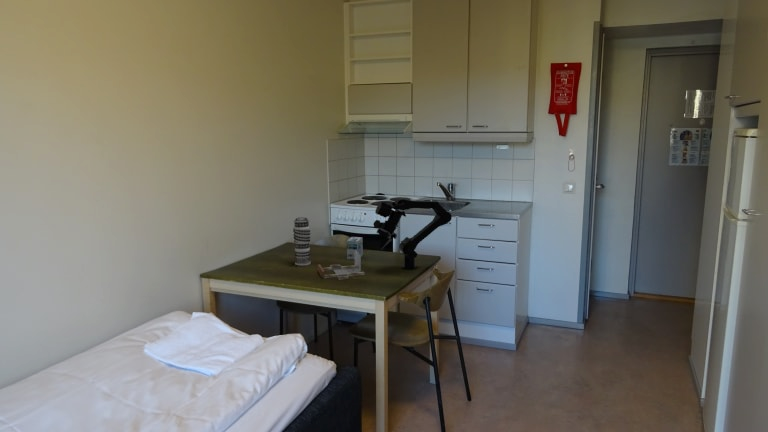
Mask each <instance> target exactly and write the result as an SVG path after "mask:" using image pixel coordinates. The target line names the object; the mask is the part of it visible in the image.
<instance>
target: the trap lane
mask: <svg viewBox="0 0 768 432" xmlns="http://www.w3.org/2000/svg"><path fill="white" fill-rule="evenodd" d="M351 268H355V264H354V265H344V266H342V265H341V264H340V263H339V264H330V265H329V267H322V265H321V264H319V263H318V264H317V272H318V273H319V275H320V277H321V278H322V279H333V278H336V279H337V280H338V281H341V280H342V281H343V280H344V281H345V280H350V277H356V276H357V277H358V276H359V277H360V276H365V271H361V272H356V273H346V276H338V275H337V274H335V273H334V274H332V273H331V274H325V272H328V271H329V272H331V271H333V270H339V269H351Z"/></svg>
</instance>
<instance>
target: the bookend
mask: <svg viewBox="0 0 768 432" xmlns="http://www.w3.org/2000/svg"><path fill="white" fill-rule="evenodd" d="M361 259H362V257H361V255H360V254H359V253H358V252H357V251H355V259H354V265H355V268H351V269H339V270H332V271H333V273H334V274H337V275H338V276H346V273H356V272H362V265H361V264H362V262H361V261H362V260H361Z"/></svg>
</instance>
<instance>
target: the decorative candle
mask: <svg viewBox="0 0 768 432" xmlns="http://www.w3.org/2000/svg"><path fill="white" fill-rule="evenodd" d="M293 221H294V227H293V229H292V230H293V231H292V232H293V239H294V240H293V243H294V245H295V247H294V264H295V266H296V265H297V266H308V265H311V257H312V256H311V248H310V243H311V229H310V225H309V223H310V219H308V217H305V216H304V217H303V216H299V217H296V218H295V219H294V220H293Z"/></svg>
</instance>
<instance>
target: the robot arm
mask: <svg viewBox="0 0 768 432" xmlns="http://www.w3.org/2000/svg"><path fill="white" fill-rule="evenodd" d="M410 209H411V210H412V209H432V210H433V212H434V213H435V215H434V217H433V219H432V221H430V222H429V223H427V224H426V225H425V226H424V227H422V229H420V230H419V231H418V232H416V234H414V235H413V236H411V237H408V236H407V237H404V239H402V240H401V241H400V243H399V247H398V249H399V252H401V253H402V256H403V255H404V256H403V265H402V266H401V269H405V270H406V269H407V270H414V269H416V268H418V265H416V258H417V257H418V253H417V251H415V250H416V248H417V247H418V245H419V244H420V243H421V242H422V241H423V240H424V239H426V238H427V237H428V236H430V235H431V234H432V233H433V232H434V231H436V230H437V229H439V228H440V227H442V226H445V225H446V224H447V225H448V223H450V222H451V221H452V217H453V216H452V213H451V212H449V211H447V210H446V209H445V208H444V207H443V206H442V205H441V203H439V201H436V200H412V199H407V198H403V197H397V198H396V199H395V200H394V201H393V202H391V203H390V204H388V203H385V202H384V201H380V203H379V204H378V205H377V206H376V208H375V212H374V213H375V214H376V215H379V216H381V217H382V218H385V219H386V218H387V217H388V218H387V220H384V222H381V221H380V220H379V219H376V220H375V221H373V229H377V230H376V233H377V234H379V237H380V244H379V249H380V250H383V249H384V248H385V247H386V246H387V245H388V244H389V243H390V242H392V240H393V239H394V240H396V239H397V238H398V234H397V232H395V231H396V229H397V228H398V227H399V223H400V220H401V218H402V216H403V217H404V218H406V217H407V215H406V212H405V211H407V210H410Z"/></svg>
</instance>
